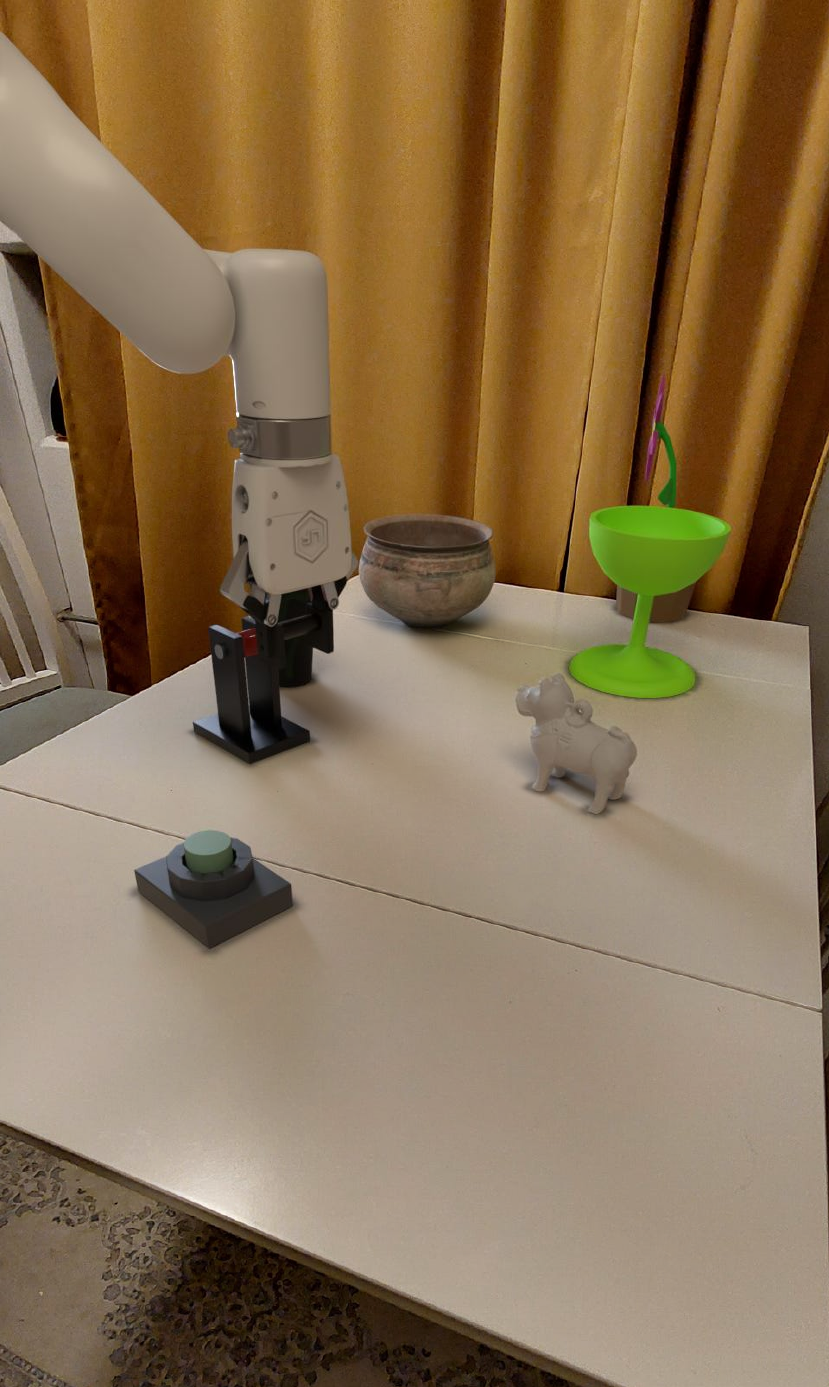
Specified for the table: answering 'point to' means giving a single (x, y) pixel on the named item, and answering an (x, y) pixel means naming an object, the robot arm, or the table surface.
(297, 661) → the cup
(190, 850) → the power button
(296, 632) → the lever handle
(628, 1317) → the table surface
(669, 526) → the wineglass
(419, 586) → the cooking pot
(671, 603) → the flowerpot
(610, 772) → the dog figurine
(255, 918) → the base
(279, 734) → the black lever stand
